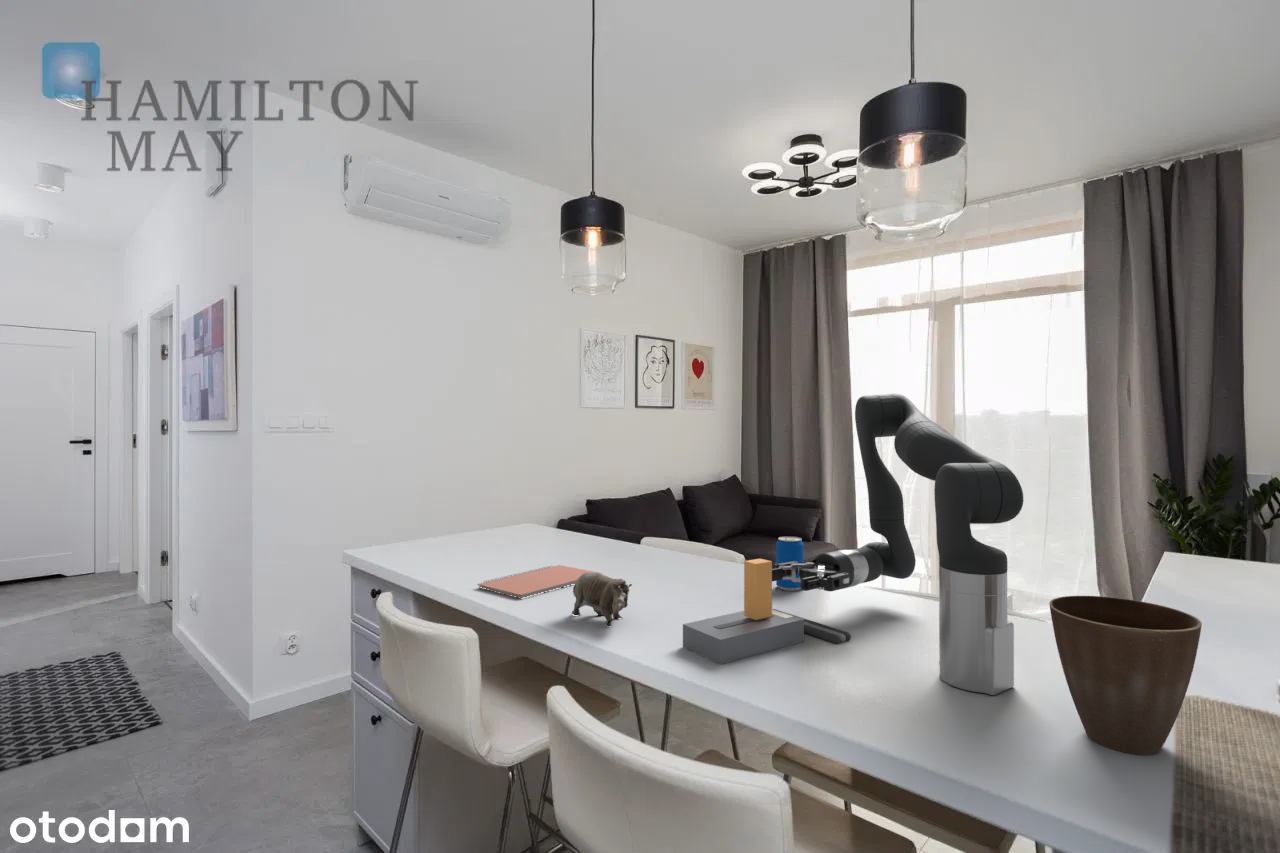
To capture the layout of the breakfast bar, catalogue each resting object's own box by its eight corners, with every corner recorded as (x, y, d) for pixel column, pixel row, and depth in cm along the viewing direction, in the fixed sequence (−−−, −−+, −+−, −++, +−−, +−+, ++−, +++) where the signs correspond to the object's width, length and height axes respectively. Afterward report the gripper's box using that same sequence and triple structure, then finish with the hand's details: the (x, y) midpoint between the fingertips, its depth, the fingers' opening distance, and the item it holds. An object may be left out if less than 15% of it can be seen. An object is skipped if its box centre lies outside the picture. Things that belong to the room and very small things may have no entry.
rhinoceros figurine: (591, 594, 138) (611, 544, 131) (626, 643, 130) (650, 593, 123) (561, 603, 133) (580, 552, 125) (595, 655, 125) (618, 604, 117)
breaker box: (803, 641, 115) (803, 618, 115) (720, 664, 103) (720, 639, 104) (763, 626, 123) (763, 605, 123) (682, 646, 112) (682, 623, 112)
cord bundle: (852, 640, 115) (852, 632, 115) (816, 651, 110) (816, 643, 110) (774, 614, 131) (774, 607, 131) (738, 622, 126) (738, 615, 126)
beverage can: (801, 585, 156) (801, 536, 156) (805, 591, 150) (805, 541, 150) (774, 584, 157) (774, 536, 157) (777, 591, 150) (777, 540, 150)
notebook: (556, 570, 174) (556, 563, 174) (601, 579, 164) (601, 572, 164) (474, 590, 153) (474, 582, 153) (520, 602, 143) (520, 593, 143)
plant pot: (1179, 788, 68) (1179, 638, 68) (1028, 734, 80) (1028, 607, 80) (1218, 747, 76) (1217, 614, 77) (1076, 703, 89) (1076, 589, 89)
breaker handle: (771, 616, 115) (771, 561, 115) (756, 620, 113) (755, 563, 113) (760, 612, 118) (760, 558, 118) (744, 616, 115) (744, 561, 115)
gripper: (812, 545, 134) (757, 554, 125) (870, 556, 122) (814, 567, 113) (812, 581, 134) (757, 592, 125) (870, 595, 122) (814, 609, 113)
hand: (784, 580), depth 119 cm, fingers open, 8 cm apart
